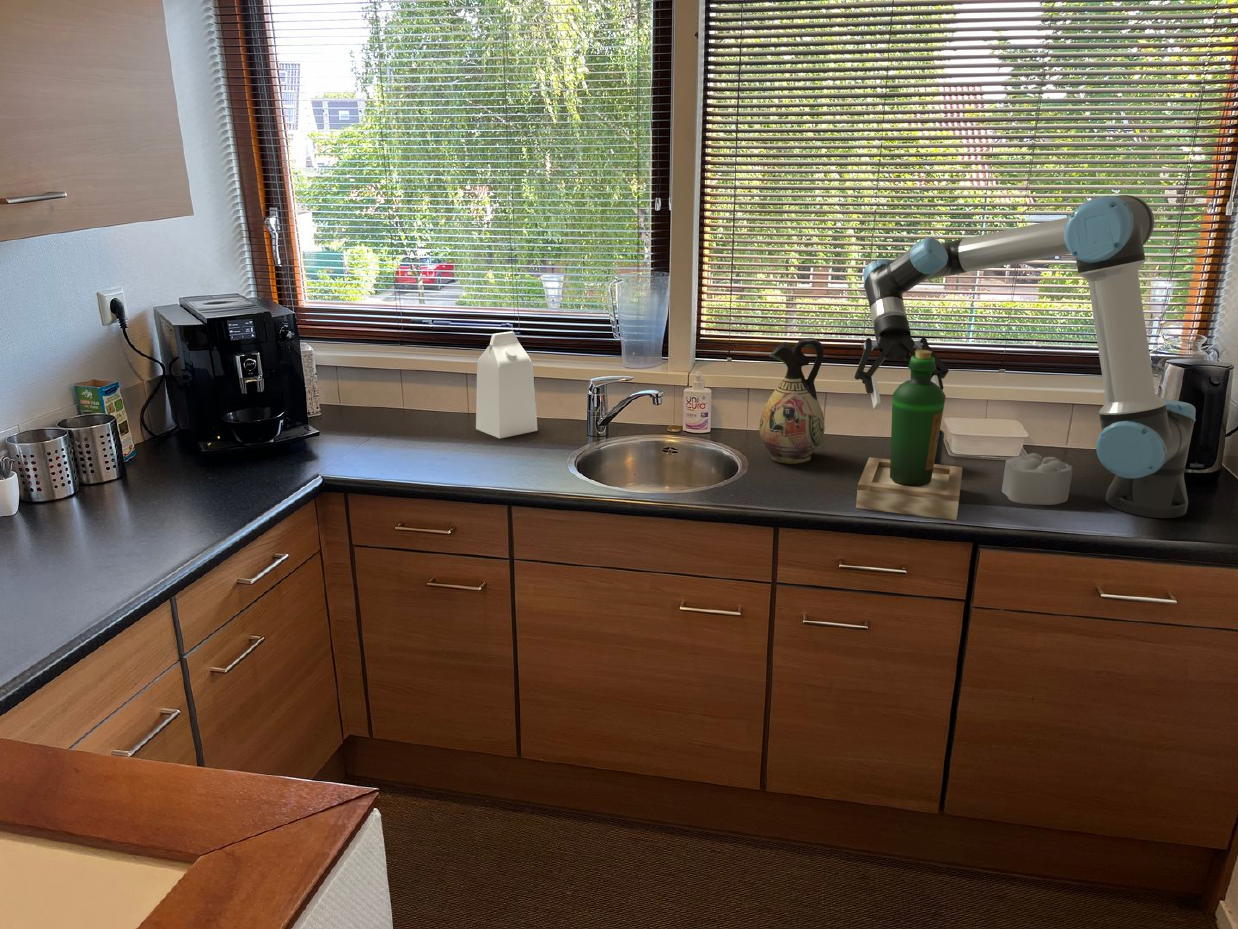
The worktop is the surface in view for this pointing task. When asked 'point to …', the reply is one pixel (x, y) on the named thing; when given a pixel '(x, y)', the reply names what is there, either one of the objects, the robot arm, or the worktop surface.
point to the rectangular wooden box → (910, 491)
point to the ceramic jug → (794, 407)
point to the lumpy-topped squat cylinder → (1036, 480)
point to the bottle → (916, 423)
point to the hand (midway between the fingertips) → (908, 405)
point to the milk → (505, 389)
